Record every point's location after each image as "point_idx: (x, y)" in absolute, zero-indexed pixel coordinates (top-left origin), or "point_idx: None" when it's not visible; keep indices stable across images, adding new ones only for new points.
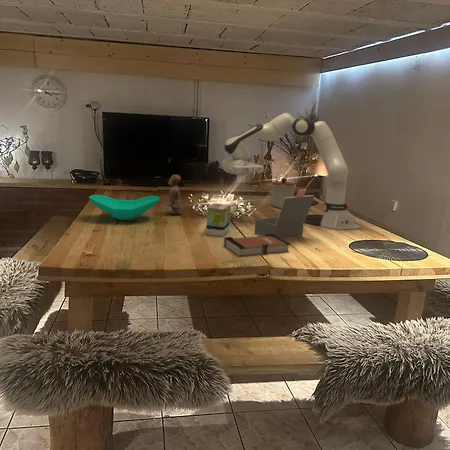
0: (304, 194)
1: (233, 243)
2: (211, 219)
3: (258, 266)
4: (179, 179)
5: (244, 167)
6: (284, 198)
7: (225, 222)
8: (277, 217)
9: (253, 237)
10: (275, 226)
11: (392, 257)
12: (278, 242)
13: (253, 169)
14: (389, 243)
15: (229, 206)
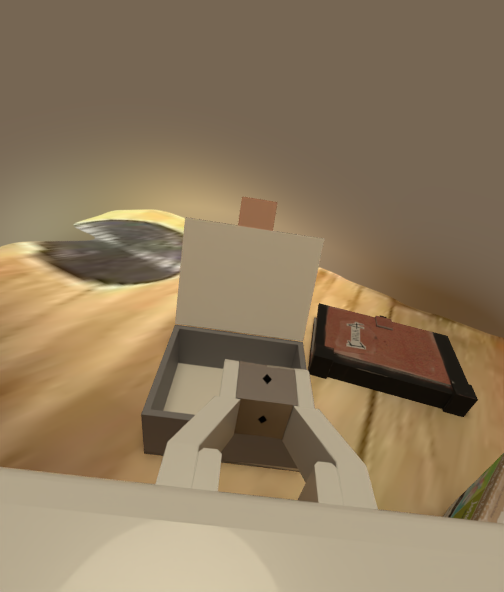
0: (240, 216)
1: (456, 360)
2: None
3: (415, 309)
4: None
5: (488, 523)
6: (323, 241)
7: (468, 492)
8: (186, 414)
9: (382, 366)
10: (301, 343)
11: (170, 237)
12: (339, 317)
13: (309, 383)
14: (67, 251)
15: None
